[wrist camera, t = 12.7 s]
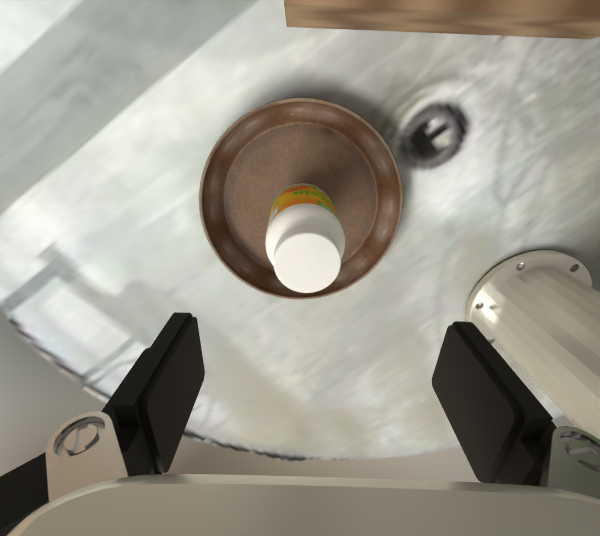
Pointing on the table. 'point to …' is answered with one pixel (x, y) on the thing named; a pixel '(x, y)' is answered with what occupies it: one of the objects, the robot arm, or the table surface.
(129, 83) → the table surface
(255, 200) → the plant saucer
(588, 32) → the frame
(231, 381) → the table surface
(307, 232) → the supplement bottle
